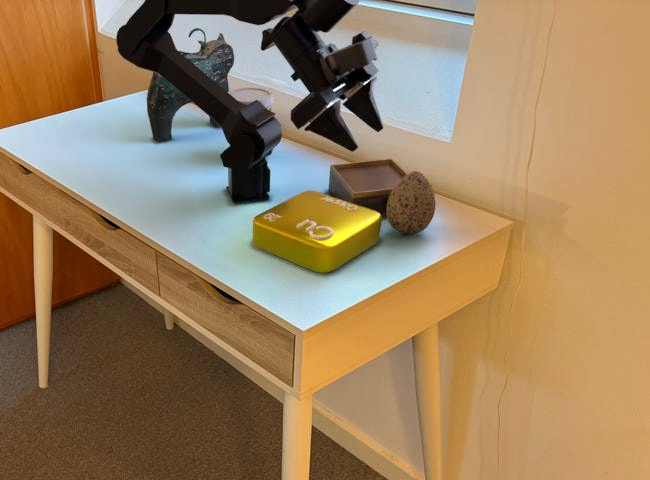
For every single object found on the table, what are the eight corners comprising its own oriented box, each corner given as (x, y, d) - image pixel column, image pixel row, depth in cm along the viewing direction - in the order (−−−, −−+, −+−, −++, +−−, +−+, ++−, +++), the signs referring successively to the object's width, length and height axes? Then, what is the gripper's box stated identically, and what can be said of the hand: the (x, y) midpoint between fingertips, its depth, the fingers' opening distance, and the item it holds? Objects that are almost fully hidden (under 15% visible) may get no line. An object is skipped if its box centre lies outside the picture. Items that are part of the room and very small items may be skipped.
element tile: (384, 239, 111) (388, 210, 108) (325, 277, 103) (327, 247, 100) (307, 212, 120) (308, 184, 117) (246, 244, 112) (246, 216, 109)
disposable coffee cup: (217, 163, 138) (215, 100, 131) (233, 146, 145) (233, 84, 138) (264, 169, 135) (265, 104, 128) (279, 150, 142) (281, 88, 135)
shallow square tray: (351, 221, 116) (353, 193, 114) (328, 191, 126) (330, 164, 123) (415, 213, 118) (420, 185, 115) (388, 184, 127) (391, 158, 124)
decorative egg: (438, 230, 113) (449, 169, 107) (418, 248, 108) (428, 185, 102) (396, 218, 116) (404, 159, 110) (375, 235, 112) (382, 174, 106)
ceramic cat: (224, 117, 159) (222, 19, 147) (241, 125, 154) (240, 25, 142) (145, 137, 151) (137, 36, 139) (161, 146, 147) (153, 42, 135)
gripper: (314, 30, 95) (384, 127, 96) (372, 2, 107) (433, 89, 108) (261, 84, 103) (326, 172, 105) (321, 52, 115) (378, 132, 117)
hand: (368, 139), depth 108 cm, fingers open, 9 cm apart
